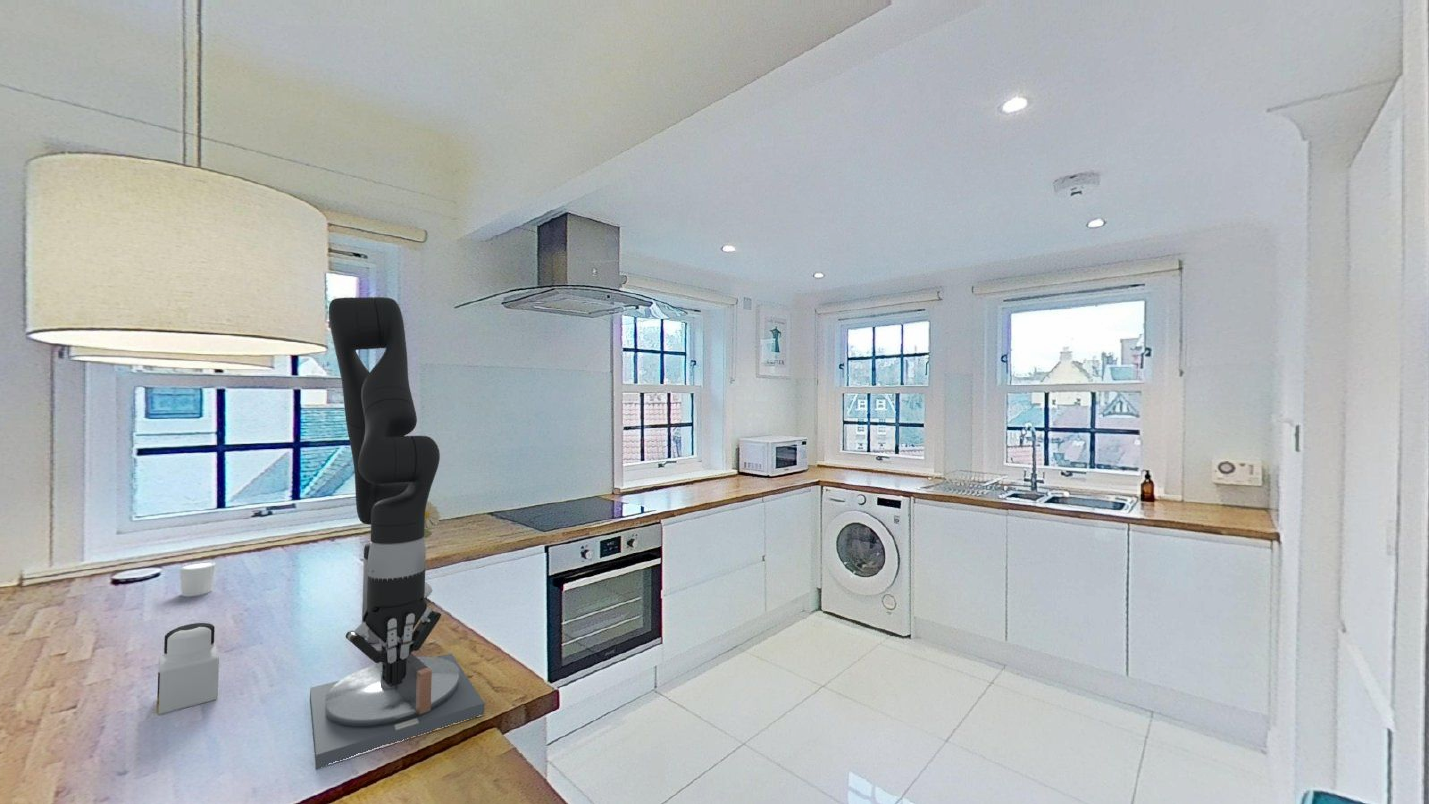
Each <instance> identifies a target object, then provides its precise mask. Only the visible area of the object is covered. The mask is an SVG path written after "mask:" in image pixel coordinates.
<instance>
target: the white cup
mask: <svg viewBox="0 0 1429 804" xmlns="http://www.w3.org/2000/svg"><path fill="white" fill-rule="evenodd" d="M216 566H217V563H216V562H212V561H208V562H205V561H204V562H197V563H190V564H187V565H183V566H180V568H179V580H180V589H181V590H180V591H181V596H182V597H197V596H202V595H205V594H208V593H211V592H212V591H213V586H214V580H215V572H216Z"/></svg>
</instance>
